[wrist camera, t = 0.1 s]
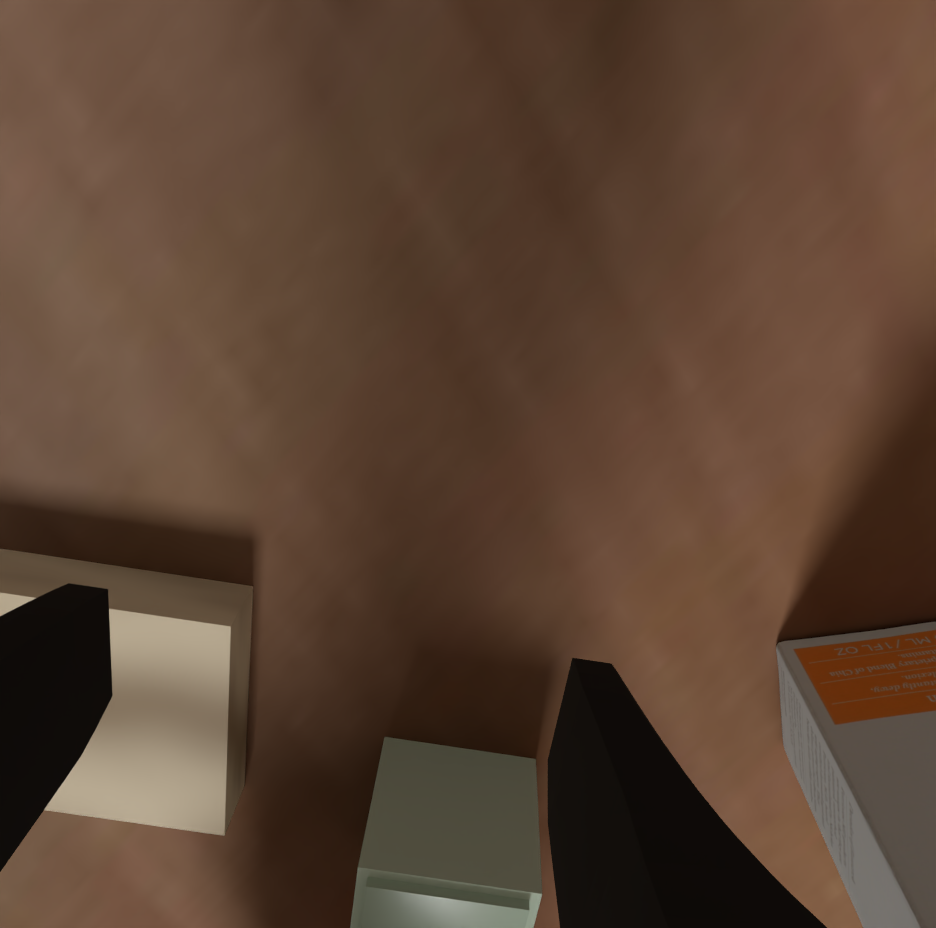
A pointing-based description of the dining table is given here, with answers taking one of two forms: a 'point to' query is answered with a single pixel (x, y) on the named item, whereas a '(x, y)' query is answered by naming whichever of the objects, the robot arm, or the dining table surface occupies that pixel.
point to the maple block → (157, 693)
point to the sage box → (449, 840)
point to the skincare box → (869, 762)
